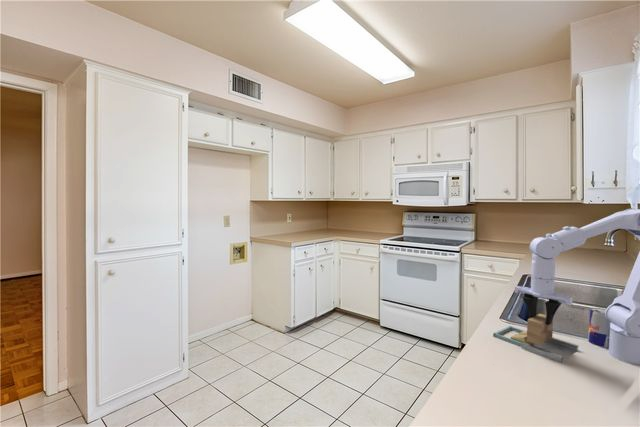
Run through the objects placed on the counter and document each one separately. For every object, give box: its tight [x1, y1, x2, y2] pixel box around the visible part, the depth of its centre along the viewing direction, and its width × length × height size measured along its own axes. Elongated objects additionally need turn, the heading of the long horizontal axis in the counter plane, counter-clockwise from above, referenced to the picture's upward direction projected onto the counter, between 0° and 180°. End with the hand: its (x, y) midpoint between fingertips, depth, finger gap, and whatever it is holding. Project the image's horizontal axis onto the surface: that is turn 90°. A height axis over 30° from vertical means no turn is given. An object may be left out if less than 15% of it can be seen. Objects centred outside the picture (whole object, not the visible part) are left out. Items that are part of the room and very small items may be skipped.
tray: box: [492, 325, 525, 347], centre depth 101 cm, size 11×8×2 cm
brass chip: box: [510, 333, 532, 345], centre depth 97 cm, size 4×4×2 cm
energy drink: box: [587, 307, 610, 348], centre depth 97 cm, size 5×5×12 cm
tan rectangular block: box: [526, 313, 554, 345], centre depth 94 cm, size 8×4×6 cm, turn 123°
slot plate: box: [520, 336, 579, 364], centre depth 93 cm, size 13×10×3 cm
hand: (540, 321), depth 94 cm, fingers closed on tan rectangular block, 3 cm apart
